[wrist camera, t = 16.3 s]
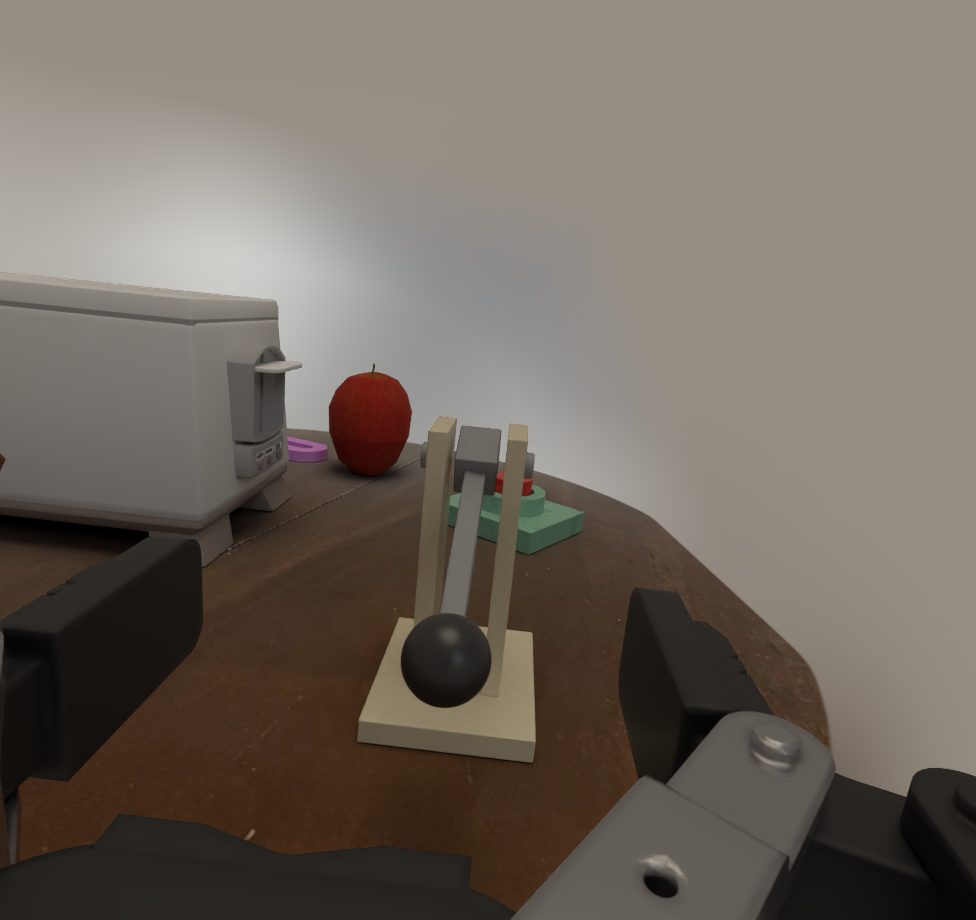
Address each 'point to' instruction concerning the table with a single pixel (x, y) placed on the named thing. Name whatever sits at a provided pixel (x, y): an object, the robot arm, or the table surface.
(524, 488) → the button
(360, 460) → the apple
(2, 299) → the toaster
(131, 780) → the table surface
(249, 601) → the table surface
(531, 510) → the box
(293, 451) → the bracket
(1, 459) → the mug
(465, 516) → the lever
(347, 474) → the table surface
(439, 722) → the bracket
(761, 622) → the table surface
